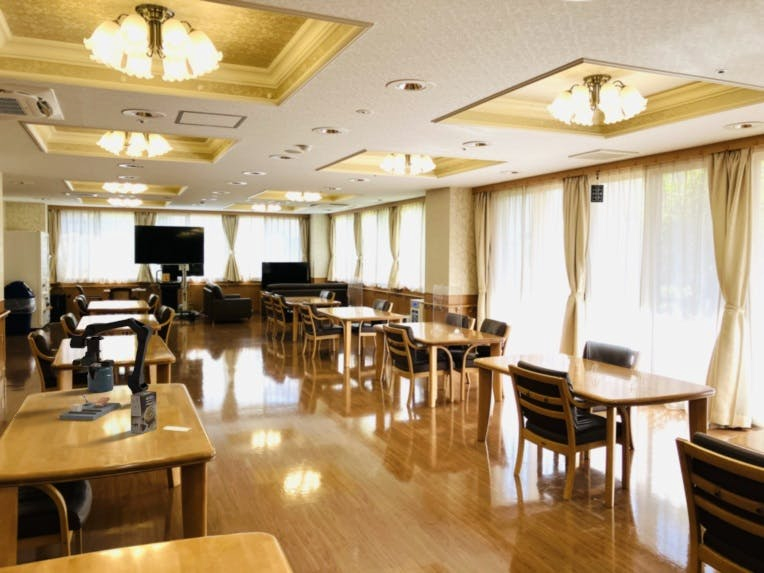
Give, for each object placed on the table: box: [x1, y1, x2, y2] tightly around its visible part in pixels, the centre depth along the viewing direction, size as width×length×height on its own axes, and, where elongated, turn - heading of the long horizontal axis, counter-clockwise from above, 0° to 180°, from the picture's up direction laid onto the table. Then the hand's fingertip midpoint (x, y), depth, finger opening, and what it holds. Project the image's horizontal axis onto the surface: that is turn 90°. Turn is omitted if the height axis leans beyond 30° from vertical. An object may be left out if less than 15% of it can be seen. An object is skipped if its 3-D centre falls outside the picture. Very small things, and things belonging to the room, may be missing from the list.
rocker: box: [94, 396, 111, 407], centre depth 282 cm, size 4×7×1 cm, turn 175°
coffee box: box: [130, 390, 158, 435], centre depth 251 cm, size 9×6×16 cm
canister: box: [86, 357, 115, 393], centre depth 320 cm, size 13×13×18 cm
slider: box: [71, 403, 83, 412], centre depth 271 cm, size 3×3×3 cm
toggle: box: [82, 394, 89, 403], centre depth 283 cm, size 2×2×4 cm
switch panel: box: [58, 401, 121, 422], centre depth 277 cm, size 16×23×3 cm
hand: (93, 379), depth 292 cm, fingers closed
